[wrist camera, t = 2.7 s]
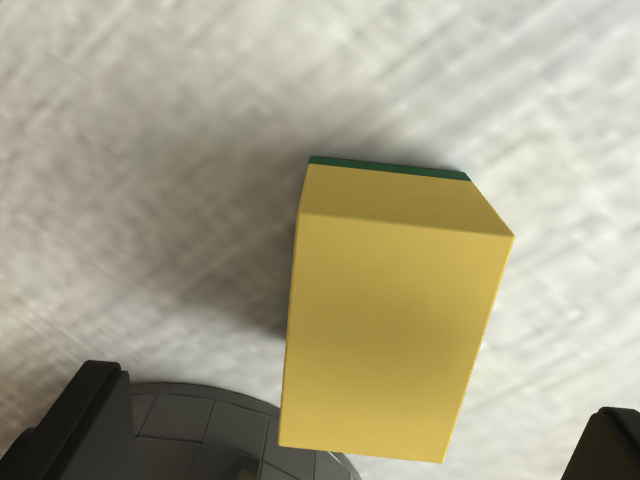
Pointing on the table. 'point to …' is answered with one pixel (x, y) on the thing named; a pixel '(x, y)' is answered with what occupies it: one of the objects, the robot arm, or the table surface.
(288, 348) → the sponge
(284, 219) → the table surface
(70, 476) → the robot arm
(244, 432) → the pan
